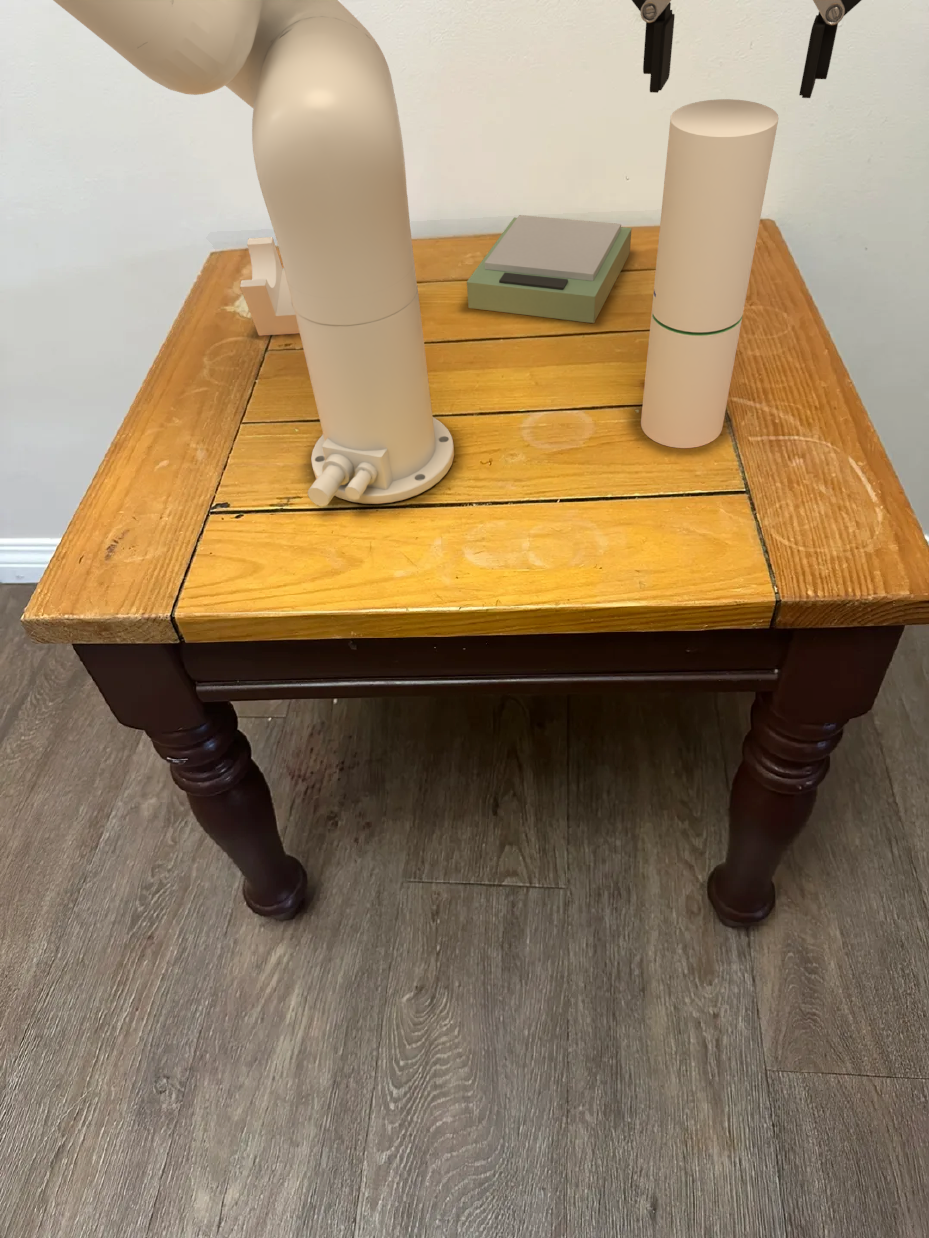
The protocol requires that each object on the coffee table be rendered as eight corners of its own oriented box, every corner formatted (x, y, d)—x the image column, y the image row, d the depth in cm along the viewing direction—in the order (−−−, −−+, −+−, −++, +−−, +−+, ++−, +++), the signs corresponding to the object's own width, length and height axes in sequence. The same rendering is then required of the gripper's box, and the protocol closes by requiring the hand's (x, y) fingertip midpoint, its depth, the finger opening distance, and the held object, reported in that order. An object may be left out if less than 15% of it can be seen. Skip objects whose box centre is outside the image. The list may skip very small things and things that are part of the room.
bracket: (261, 342, 94) (240, 287, 87) (268, 295, 97) (248, 238, 90) (379, 335, 93) (367, 279, 86) (382, 288, 96) (370, 230, 90)
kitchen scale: (594, 323, 90) (595, 289, 87) (468, 308, 94) (466, 274, 91) (629, 254, 100) (632, 220, 97) (514, 242, 104) (513, 210, 101)
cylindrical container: (718, 400, 79) (770, 97, 61) (726, 448, 75) (785, 134, 56) (639, 401, 80) (667, 101, 62) (642, 448, 75) (673, 139, 57)
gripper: (600, -260, 45) (590, 103, 58) (964, -291, 40) (865, 114, 53) (633, -273, 50) (617, 67, 62) (964, -302, 45) (873, 74, 57)
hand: (731, 88), depth 58 cm, fingers open, 9 cm apart
